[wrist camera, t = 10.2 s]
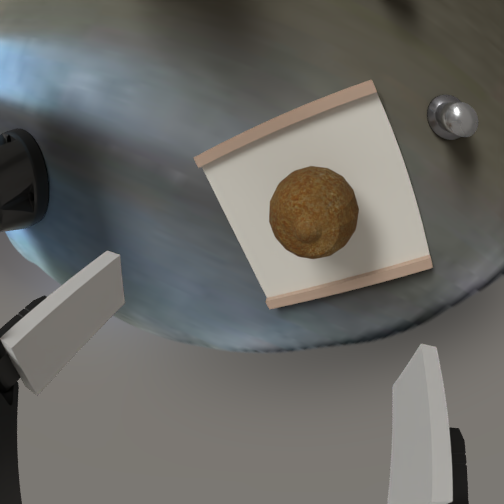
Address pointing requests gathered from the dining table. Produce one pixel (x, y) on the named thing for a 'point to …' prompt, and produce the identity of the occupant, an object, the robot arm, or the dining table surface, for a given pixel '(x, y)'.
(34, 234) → the dining table surface
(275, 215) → the fruit
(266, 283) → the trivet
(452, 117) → the pins
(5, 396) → the robot arm
